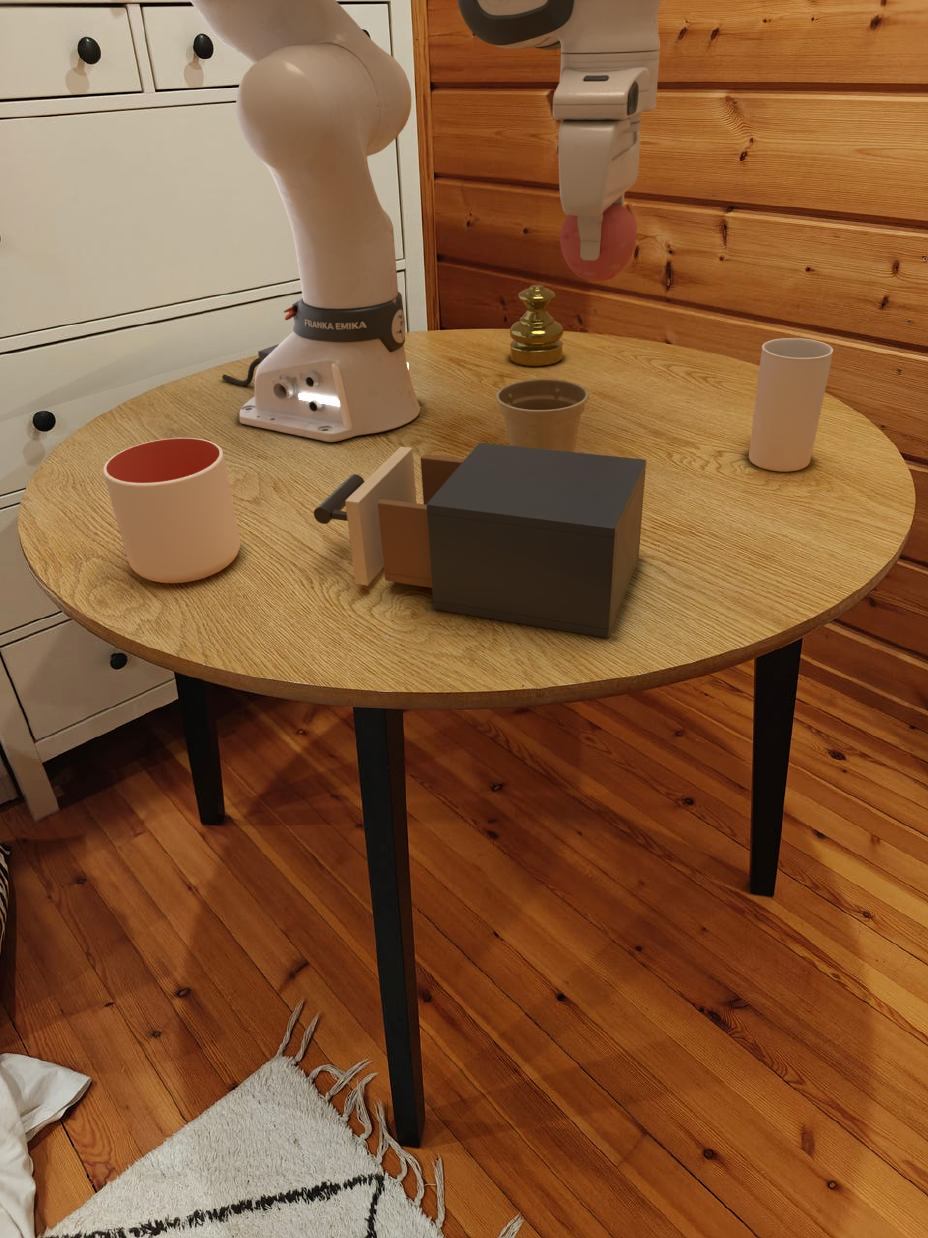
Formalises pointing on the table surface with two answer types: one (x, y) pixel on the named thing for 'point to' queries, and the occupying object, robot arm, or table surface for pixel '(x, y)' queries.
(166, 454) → the cup
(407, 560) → the drawer
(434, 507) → the cabinet
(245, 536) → the table surface
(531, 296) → the gold chess piece
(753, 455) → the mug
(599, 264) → the apple
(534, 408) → the flower pot
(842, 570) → the table surface
